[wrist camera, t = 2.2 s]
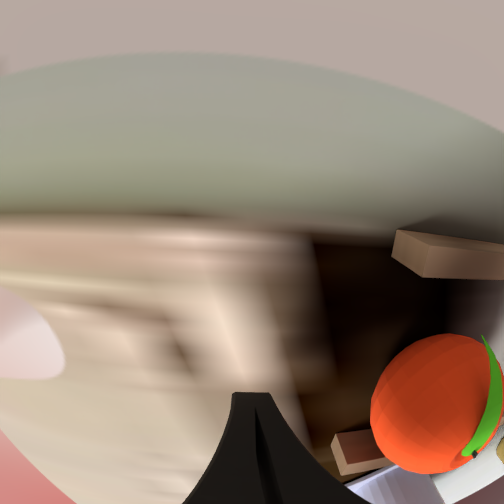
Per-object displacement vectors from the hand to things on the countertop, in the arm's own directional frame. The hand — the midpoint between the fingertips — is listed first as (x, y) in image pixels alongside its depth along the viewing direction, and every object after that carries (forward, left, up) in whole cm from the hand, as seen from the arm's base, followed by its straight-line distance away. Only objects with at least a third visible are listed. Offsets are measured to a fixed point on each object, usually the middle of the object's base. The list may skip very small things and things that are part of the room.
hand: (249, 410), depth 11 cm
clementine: (-4, -8, -3) cm, 9 cm away
